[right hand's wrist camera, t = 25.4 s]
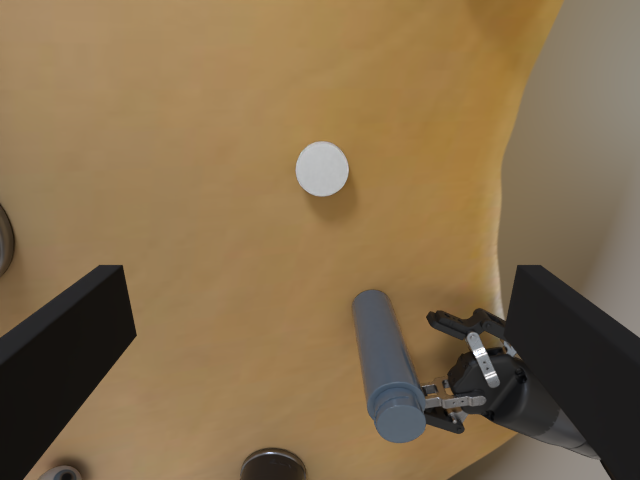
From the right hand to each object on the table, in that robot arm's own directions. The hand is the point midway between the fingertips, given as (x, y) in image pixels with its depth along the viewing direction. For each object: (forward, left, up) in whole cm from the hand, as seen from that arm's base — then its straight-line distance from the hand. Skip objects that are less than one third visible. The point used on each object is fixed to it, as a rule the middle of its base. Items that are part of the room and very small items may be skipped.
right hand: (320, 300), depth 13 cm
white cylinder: (0, 0, -26) cm, 26 cm away
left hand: (-1, -20, -22) cm, 30 cm away
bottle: (-3, -18, -28) cm, 33 cm away
